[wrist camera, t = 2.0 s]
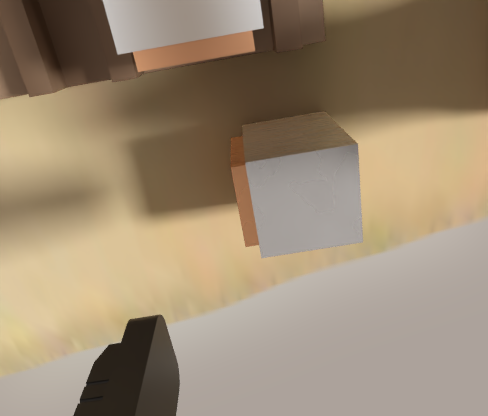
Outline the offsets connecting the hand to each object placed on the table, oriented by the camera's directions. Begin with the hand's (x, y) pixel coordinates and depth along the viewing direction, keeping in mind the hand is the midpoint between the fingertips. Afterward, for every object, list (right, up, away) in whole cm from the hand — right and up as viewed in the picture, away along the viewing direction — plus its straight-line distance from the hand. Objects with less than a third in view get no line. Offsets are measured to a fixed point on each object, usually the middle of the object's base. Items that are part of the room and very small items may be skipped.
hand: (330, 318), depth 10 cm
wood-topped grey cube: (0, +5, +12) cm, 13 cm away
